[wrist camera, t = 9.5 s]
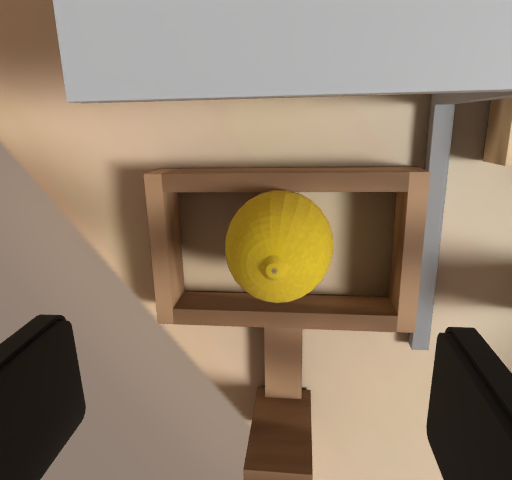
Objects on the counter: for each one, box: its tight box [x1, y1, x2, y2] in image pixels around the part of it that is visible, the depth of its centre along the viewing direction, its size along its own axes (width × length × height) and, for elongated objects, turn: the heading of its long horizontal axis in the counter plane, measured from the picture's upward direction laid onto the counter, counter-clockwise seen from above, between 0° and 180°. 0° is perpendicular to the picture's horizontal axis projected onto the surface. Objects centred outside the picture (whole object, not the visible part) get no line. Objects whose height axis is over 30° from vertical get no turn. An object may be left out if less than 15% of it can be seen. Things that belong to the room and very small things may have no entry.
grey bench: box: [53, 0, 512, 350], centre depth 18 cm, size 22×15×12 cm
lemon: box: [225, 190, 333, 303], centre depth 21 cm, size 6×6×8 cm
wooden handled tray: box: [144, 167, 430, 480], centre depth 23 cm, size 18×15×7 cm
